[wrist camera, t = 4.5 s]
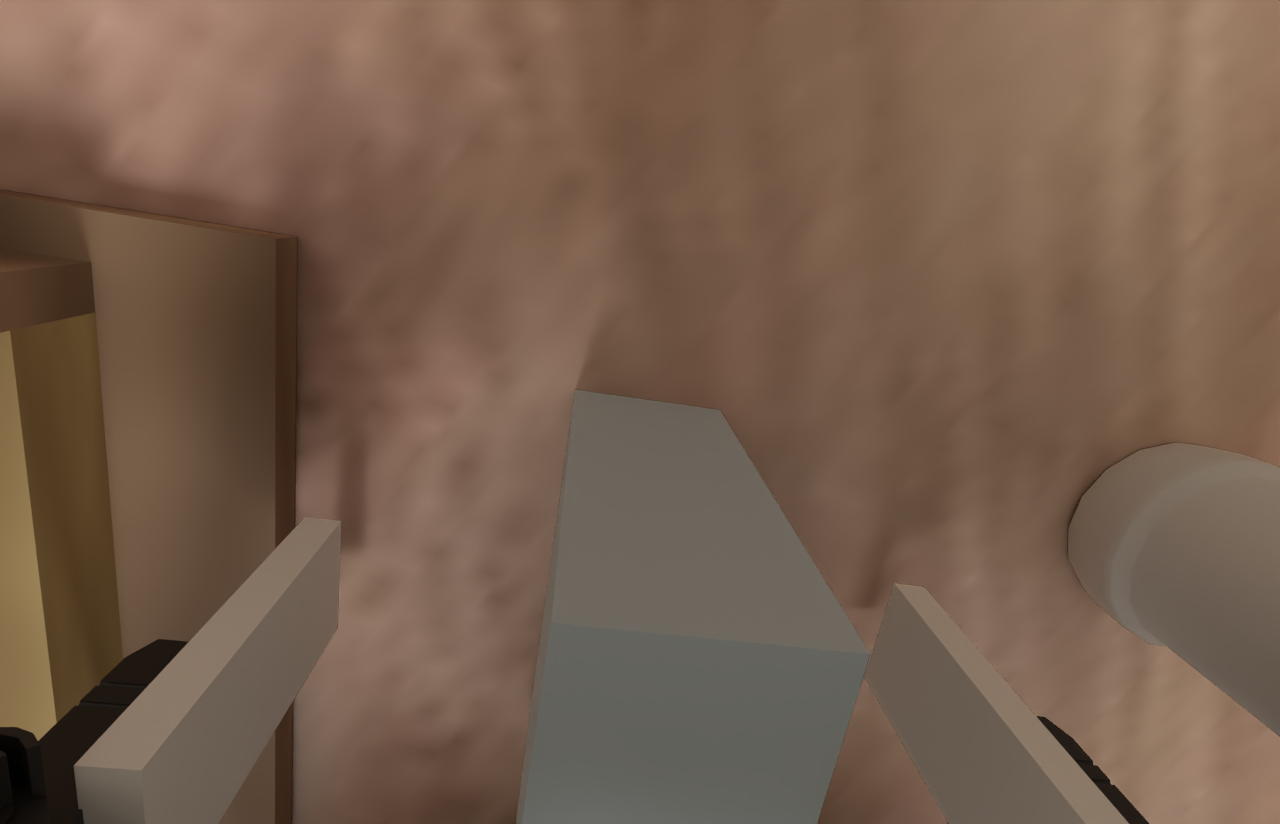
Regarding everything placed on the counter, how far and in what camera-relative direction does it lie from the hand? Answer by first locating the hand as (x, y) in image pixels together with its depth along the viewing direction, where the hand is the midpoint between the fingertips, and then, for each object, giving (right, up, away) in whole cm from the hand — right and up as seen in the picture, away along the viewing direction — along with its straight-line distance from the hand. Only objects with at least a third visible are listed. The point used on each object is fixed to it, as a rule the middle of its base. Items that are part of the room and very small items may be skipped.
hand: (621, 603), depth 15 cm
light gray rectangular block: (0, 0, +2) cm, 2 cm away
